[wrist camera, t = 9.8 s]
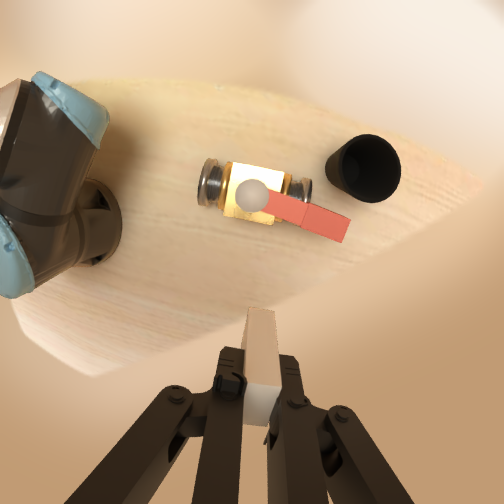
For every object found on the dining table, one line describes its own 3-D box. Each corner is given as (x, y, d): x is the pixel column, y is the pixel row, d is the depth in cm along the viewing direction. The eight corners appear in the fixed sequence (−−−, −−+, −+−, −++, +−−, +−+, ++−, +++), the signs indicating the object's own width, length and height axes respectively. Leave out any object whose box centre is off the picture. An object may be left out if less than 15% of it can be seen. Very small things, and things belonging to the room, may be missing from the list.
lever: (232, 204, 32) (230, 206, 30) (242, 174, 31) (241, 174, 29) (336, 242, 32) (340, 246, 30) (347, 214, 31) (352, 216, 29)
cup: (371, 189, 40) (407, 195, 28) (325, 200, 41) (347, 210, 29) (359, 140, 38) (392, 129, 26) (312, 150, 39) (330, 140, 27)
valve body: (205, 203, 42) (187, 211, 32) (213, 159, 40) (197, 155, 30) (297, 222, 42) (306, 235, 32) (307, 178, 40) (319, 179, 30)
